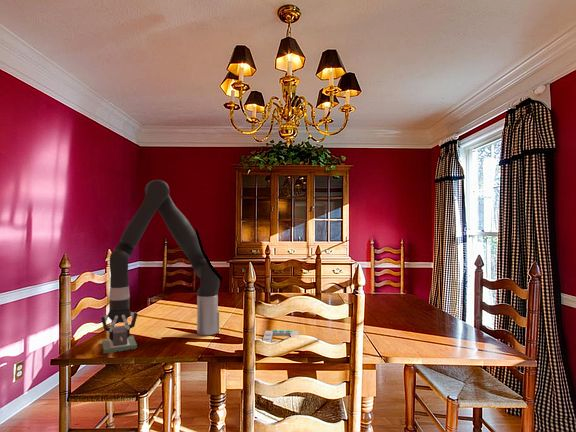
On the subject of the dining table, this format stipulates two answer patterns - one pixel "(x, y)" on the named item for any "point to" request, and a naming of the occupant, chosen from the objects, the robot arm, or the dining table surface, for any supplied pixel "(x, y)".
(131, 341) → the header board
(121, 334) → the plug housing
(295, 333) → the electronic device
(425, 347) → the dining table surface
